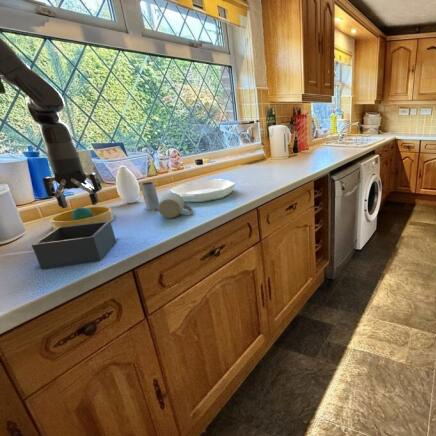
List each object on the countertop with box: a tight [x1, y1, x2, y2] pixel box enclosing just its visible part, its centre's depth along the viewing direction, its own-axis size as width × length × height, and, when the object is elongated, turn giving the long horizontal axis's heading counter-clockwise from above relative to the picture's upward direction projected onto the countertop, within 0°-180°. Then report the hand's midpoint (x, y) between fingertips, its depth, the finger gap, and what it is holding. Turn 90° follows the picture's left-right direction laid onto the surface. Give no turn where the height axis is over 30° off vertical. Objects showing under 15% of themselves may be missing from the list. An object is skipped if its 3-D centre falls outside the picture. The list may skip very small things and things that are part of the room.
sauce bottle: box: [115, 160, 141, 204], centre depth 124 cm, size 8×8×18 cm
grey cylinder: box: [140, 181, 160, 211], centre depth 115 cm, size 4×4×10 cm
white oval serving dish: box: [168, 178, 236, 203], centre depth 133 cm, size 31×26×4 cm
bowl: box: [49, 205, 114, 230], centre depth 102 cm, size 16×16×4 cm
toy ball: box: [72, 206, 93, 220], centre depth 102 cm, size 6×6×6 cm
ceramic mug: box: [157, 192, 194, 219], centre depth 108 cm, size 11×8×8 cm
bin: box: [31, 221, 117, 270], centre depth 79 cm, size 12×12×6 cm
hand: (80, 205), depth 100 cm, fingers open, 8 cm apart
